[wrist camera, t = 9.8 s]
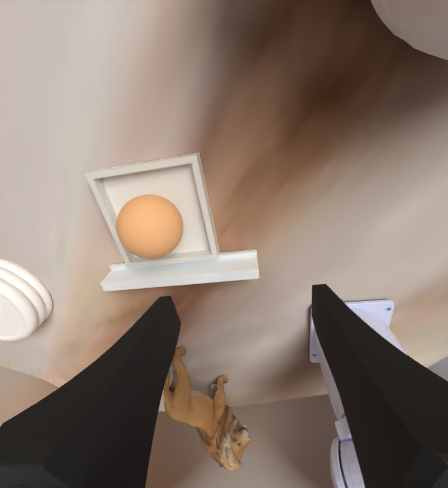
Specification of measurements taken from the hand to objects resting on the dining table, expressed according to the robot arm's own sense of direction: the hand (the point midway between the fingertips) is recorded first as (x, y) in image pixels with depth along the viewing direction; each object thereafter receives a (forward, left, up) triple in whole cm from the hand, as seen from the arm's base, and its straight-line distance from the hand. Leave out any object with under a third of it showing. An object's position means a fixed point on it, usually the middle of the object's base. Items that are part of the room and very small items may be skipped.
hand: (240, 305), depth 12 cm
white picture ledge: (-4, +7, -10) cm, 12 cm away
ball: (+2, +7, -10) cm, 12 cm away
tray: (+2, +7, -10) cm, 12 cm away
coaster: (-5, +28, -10) cm, 30 cm away
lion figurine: (-22, +8, -10) cm, 25 cm away
